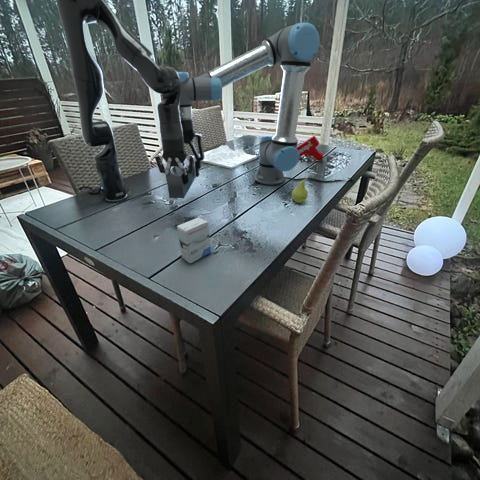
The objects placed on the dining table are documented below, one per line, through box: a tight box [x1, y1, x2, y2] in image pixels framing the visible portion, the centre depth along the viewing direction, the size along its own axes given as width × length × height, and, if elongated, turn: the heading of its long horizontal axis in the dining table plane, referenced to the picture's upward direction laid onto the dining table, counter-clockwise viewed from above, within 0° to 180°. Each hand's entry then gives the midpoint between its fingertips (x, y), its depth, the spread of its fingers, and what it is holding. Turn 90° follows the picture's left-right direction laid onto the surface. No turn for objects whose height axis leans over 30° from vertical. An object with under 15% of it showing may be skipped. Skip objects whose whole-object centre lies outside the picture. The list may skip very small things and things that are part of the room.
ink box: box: [176, 216, 212, 264], centre depth 84 cm, size 8×5×12 cm, turn 135°
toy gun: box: [297, 135, 324, 163], centre depth 172 cm, size 18×4×15 cm
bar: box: [165, 154, 197, 199], centre depth 109 cm, size 26×5×8 cm, turn 177°
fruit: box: [291, 174, 311, 204], centre depth 118 cm, size 7×8×12 cm
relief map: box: [198, 144, 258, 170], centre depth 177 cm, size 27×35×5 cm
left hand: (178, 183), depth 101 cm, fingers closed on bar, 5 cm apart
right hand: (189, 175), depth 118 cm, fingers open, 7 cm apart
